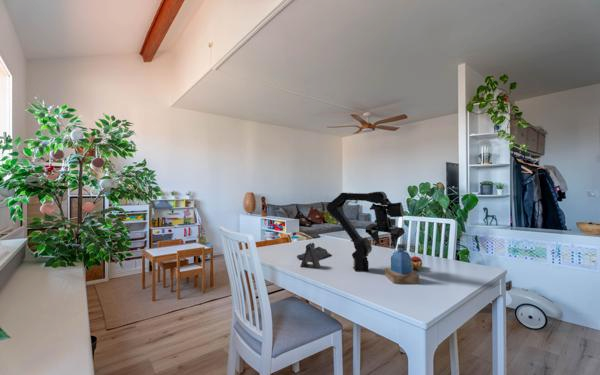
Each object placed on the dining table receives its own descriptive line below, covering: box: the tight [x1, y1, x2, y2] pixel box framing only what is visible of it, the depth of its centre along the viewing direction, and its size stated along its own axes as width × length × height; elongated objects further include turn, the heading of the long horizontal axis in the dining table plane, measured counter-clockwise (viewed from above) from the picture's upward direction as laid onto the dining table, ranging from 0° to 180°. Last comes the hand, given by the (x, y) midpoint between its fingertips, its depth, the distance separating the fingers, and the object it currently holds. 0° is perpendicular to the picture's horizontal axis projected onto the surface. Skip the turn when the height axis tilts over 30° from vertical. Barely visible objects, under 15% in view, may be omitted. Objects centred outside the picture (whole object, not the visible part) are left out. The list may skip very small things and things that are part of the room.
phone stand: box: [300, 242, 321, 270], centre depth 148 cm, size 9×6×12 cm, turn 69°
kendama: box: [411, 256, 423, 272], centre depth 141 cm, size 8×6×18 cm
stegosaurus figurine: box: [296, 246, 333, 263], centre depth 168 cm, size 15×22×5 cm
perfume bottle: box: [390, 243, 412, 274], centre depth 128 cm, size 6×6×12 cm
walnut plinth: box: [384, 267, 420, 284], centre depth 127 cm, size 11×11×4 cm
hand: (386, 245), depth 140 cm, fingers open, 9 cm apart
